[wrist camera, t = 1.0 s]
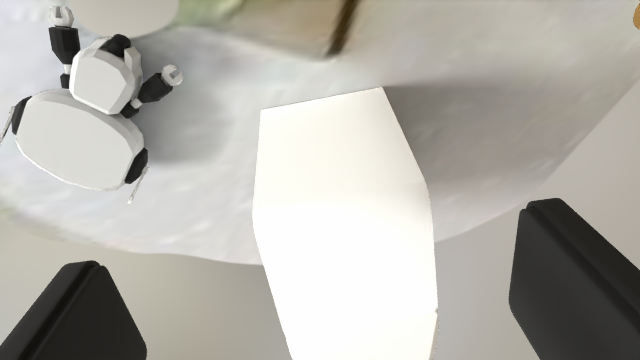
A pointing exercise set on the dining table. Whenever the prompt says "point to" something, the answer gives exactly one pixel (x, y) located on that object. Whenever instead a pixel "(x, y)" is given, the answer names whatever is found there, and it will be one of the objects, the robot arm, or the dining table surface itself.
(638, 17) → the chest lid
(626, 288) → the robot arm
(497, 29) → the dining table surface
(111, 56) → the robot toy
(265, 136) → the milk
